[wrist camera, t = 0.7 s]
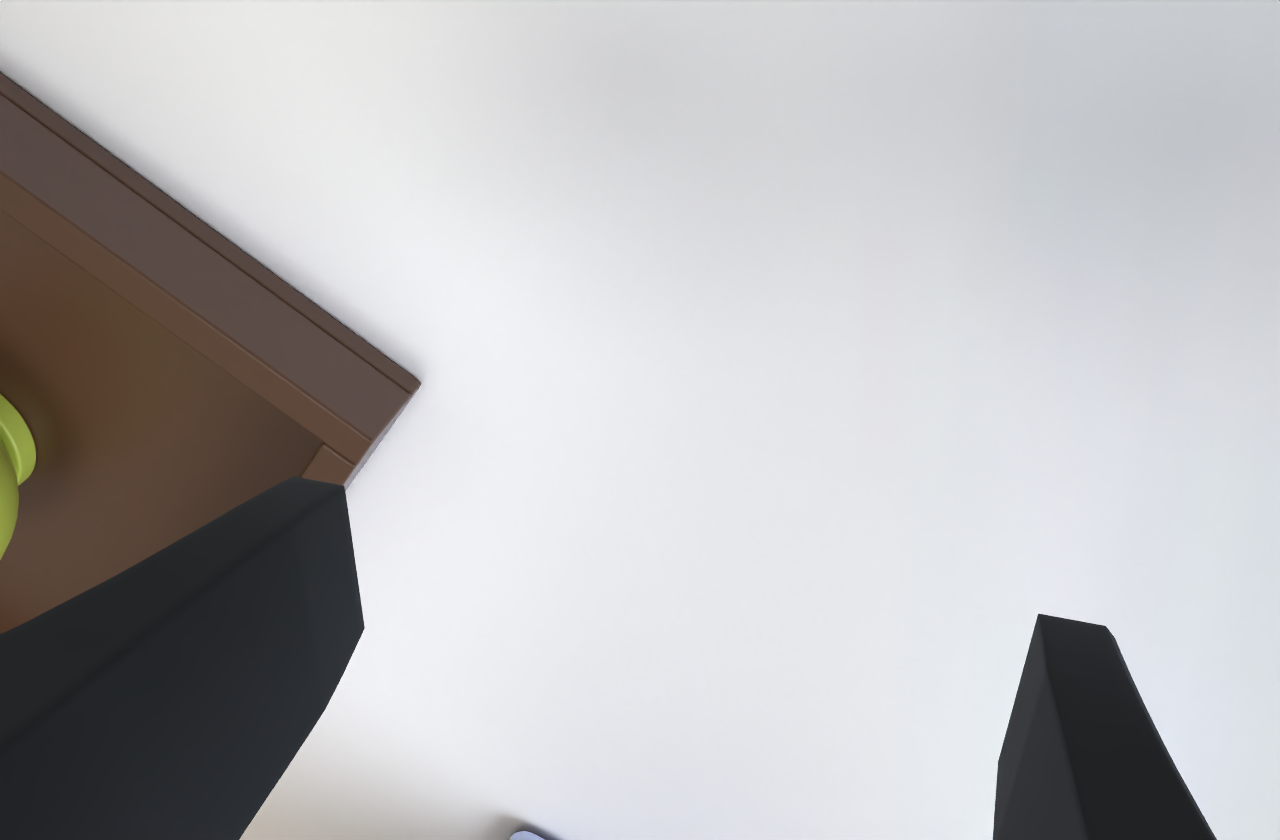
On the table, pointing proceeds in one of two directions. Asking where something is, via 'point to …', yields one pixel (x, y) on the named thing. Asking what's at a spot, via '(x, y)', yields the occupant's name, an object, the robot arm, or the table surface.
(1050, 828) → the robot arm
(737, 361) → the table surface
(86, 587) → the tray
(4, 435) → the pear
